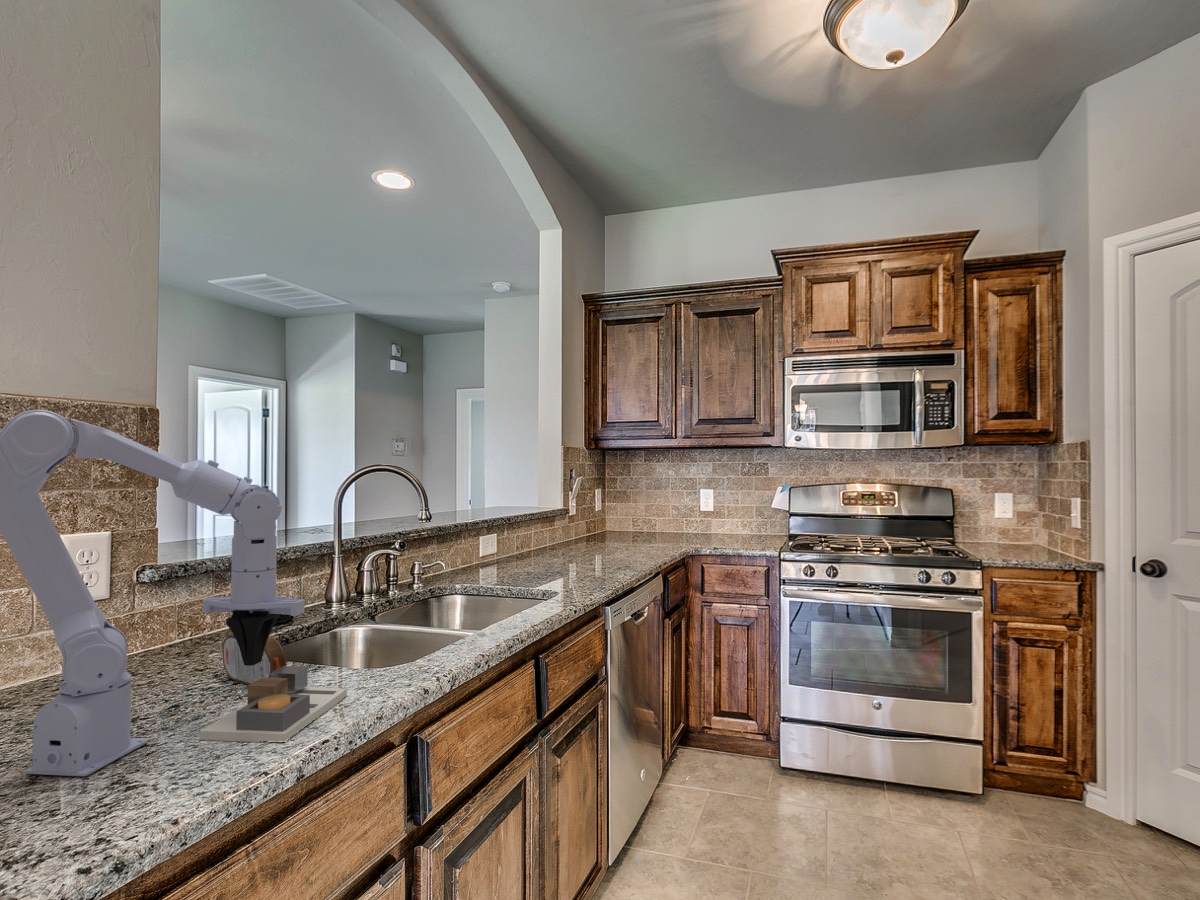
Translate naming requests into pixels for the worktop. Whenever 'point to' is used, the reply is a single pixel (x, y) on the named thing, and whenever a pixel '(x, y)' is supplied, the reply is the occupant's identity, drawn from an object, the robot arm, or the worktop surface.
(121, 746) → the robot arm
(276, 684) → the small cardboard carton
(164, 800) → the worktop surface
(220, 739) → the panel
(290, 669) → the grey slider
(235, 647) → the tin
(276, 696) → the orange button
